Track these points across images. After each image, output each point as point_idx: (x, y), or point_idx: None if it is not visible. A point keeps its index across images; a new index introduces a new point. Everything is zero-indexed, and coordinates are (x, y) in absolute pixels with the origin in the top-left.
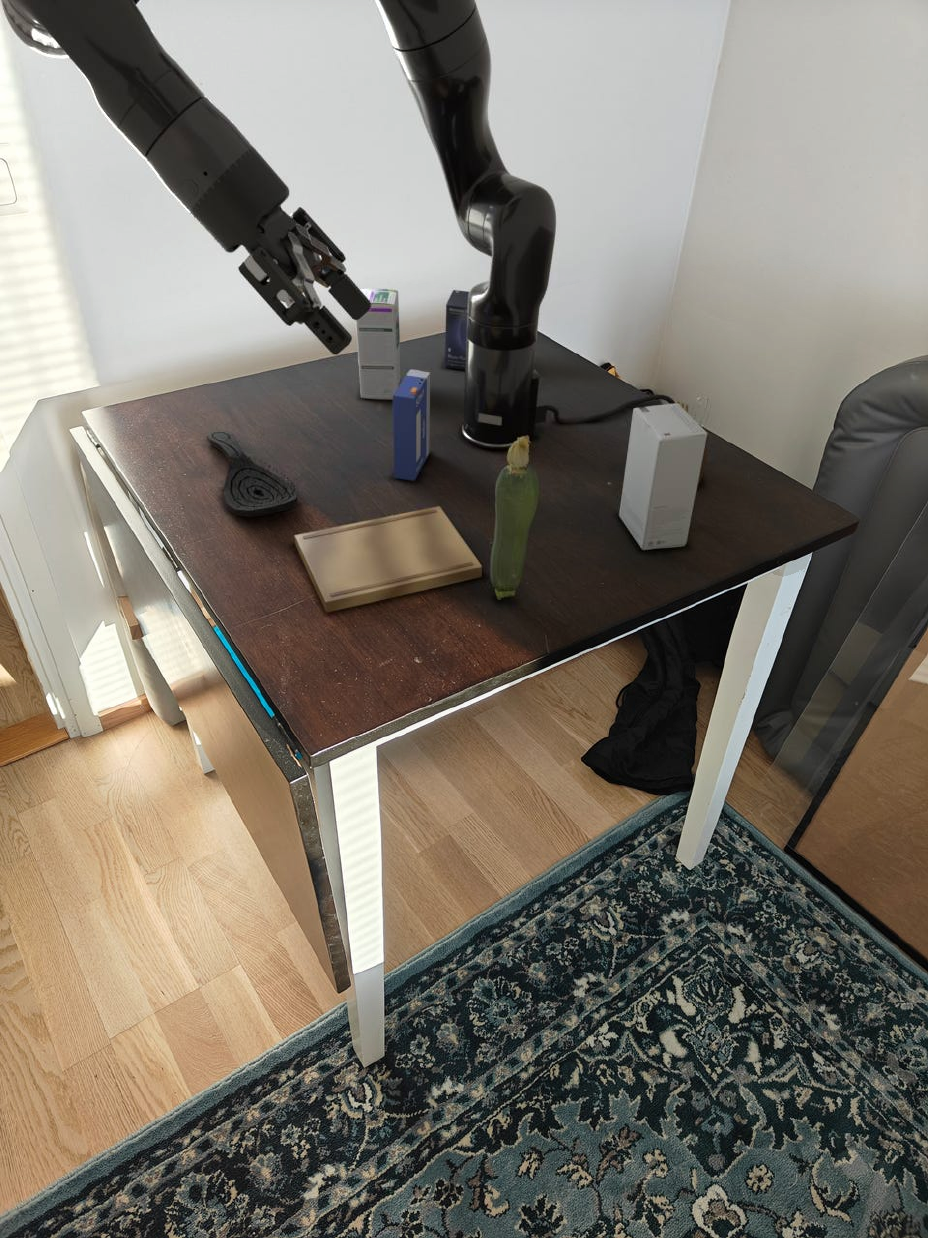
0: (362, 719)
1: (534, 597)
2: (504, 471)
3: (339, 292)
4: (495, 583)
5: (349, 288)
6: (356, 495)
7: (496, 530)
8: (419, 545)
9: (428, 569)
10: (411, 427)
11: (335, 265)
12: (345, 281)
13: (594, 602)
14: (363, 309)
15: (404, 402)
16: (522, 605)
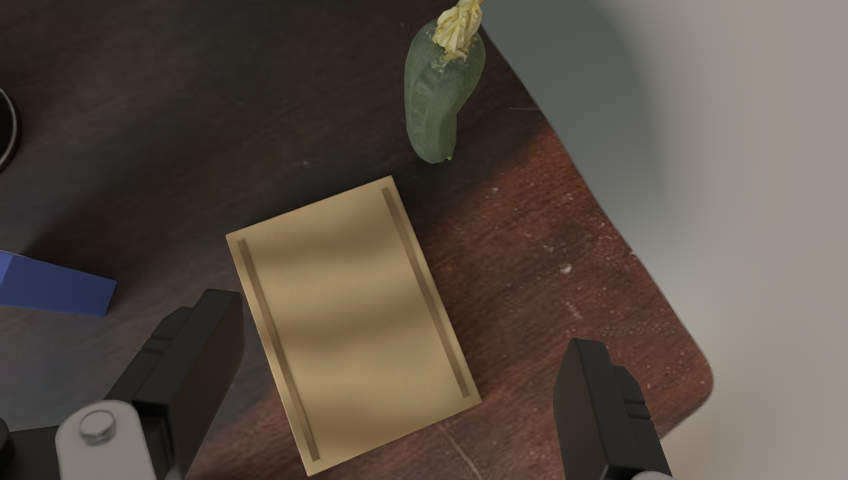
0: (673, 334)
1: None
2: (454, 67)
3: (196, 424)
4: (448, 156)
5: (196, 377)
6: None
7: (439, 127)
8: (338, 266)
9: (400, 252)
10: (54, 271)
11: (148, 458)
12: (182, 397)
13: None
14: (235, 319)
15: (14, 278)
16: None
